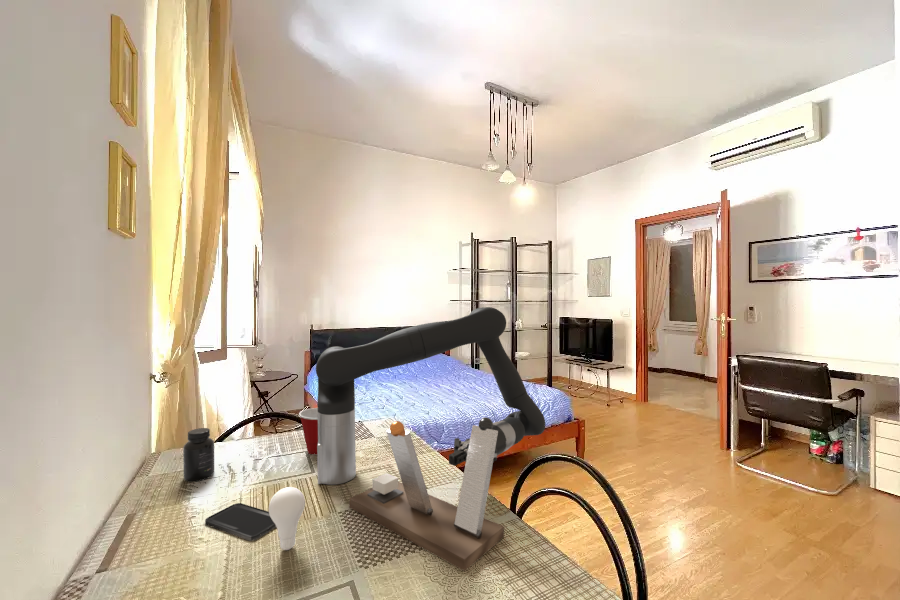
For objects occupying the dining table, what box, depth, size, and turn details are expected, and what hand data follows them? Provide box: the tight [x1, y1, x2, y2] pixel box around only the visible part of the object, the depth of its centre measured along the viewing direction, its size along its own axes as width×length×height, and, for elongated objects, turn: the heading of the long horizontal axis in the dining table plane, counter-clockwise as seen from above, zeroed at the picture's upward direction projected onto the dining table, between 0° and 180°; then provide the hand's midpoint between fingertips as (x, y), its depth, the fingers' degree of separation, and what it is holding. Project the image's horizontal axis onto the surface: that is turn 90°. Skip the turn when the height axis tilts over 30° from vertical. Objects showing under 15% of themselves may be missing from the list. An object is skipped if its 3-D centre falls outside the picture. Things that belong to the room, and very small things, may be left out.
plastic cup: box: [298, 407, 318, 455], centre depth 118 cm, size 11×11×12 cm
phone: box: [204, 502, 277, 542], centre depth 80 cm, size 8×1×15 cm
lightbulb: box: [268, 486, 306, 551], centre depth 71 cm, size 6×6×11 cm
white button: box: [371, 472, 399, 495], centre depth 86 cm, size 4×4×3 cm
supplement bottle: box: [182, 427, 215, 483], centre depth 101 cm, size 7×7×12 cm
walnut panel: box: [348, 481, 505, 572], centre depth 79 cm, size 12×32×2 cm, turn 50°
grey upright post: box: [454, 416, 498, 538], centre depth 74 cm, size 3×6×21 cm, turn 50°
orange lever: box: [386, 420, 433, 515], centre depth 77 cm, size 3×6×21 cm, turn 50°
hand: (451, 460), depth 87 cm, fingers closed
